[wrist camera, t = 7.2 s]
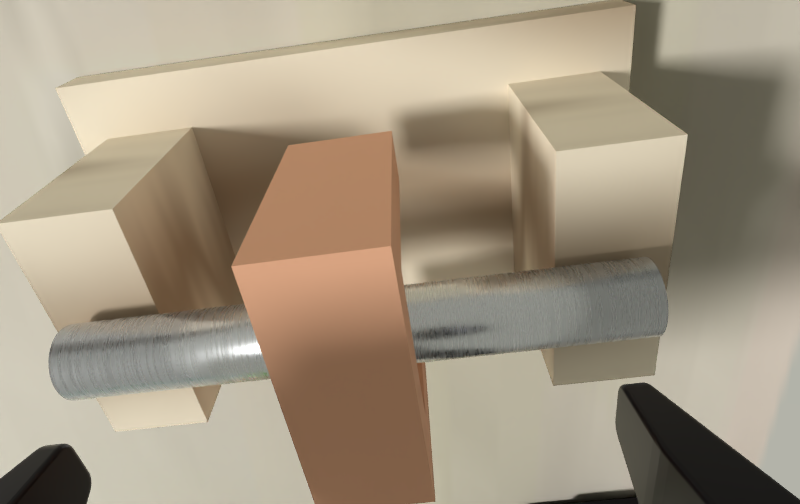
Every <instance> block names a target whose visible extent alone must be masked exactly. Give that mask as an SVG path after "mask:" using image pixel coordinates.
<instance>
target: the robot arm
mask: <svg viewBox="0 0 800 504" xmlns="http://www.w3.org/2000/svg"><path fill="white" fill-rule="evenodd" d="M615 422H616V431H617V435H618V439H619V442H620V445H621V448H622V452H623V455H624V458H625V461H626V464H627V467H628V471H629V474H630V477H631V480H632V483H633V487H634V490H635V493H636V496H637V498H626V499H615V500H604V501H594V502H583V503H572V504H800V500H799V499H798V498H797V497H796V496H794V495H793V494H792V493H790V492H789V491H788V490H786V489H785V488H784V487H783V486H781V485H780V484H779V483H777V482H776V481H775V480H773V479H772V478H771V477H770V476H768V475H767V474H766V473H764V472H763V471H762V470H761V469H759V468H758V467H757V466H755V465H754V464H753V463H751V462H750V461H749V460H748V459H746V458H745V457H744V456H742V455H741V454H740V453H738V452H737V451H736V450H735V449H733V448H732V447H731V446H729V445H728V444H727V443H725V442H724V441H723V440H722V439H720V438H719V437H718V436H716V435H715V434H714V433H712V432H711V431H710V430H709V429H707V428H706V427H705V426H703V425H702V424H701V423H699V422H698V421H697V420H696V419H694V418H693V417H692V416H690V415H689V414H688V413H686V412H685V411H684V410H683V409H681V408H680V407H679V406H677V405H676V404H675V403H673V402H672V401H671V400H670V399H668V398H667V397H666V396H664V395H663V394H662V393H660V392H659V391H658V390H657V389H655V388H654V387H653V386H651V385H650V384H647V383H634V384H625V385H622V386H621V387H620V388H619V391H618V399H617V410H616V421H615ZM90 490H91V477H90V474H89V472H88V470H87V469H86V467H85V466H84V464H83V462H82V461H81V459H80V458H79V456H78V455H77V453H76V452H75V450H74V449H73V448H72V446H70V445H68V444H56V445H47V446H43V447H41V448H39V449H37V450H36V451H35V452H33V453H32V454H31V455H30V456H28V457H27V458H26V459H25V460H23V461H22V462H21V463H19V464H18V465H17V466H16V467H14V468H13V469H12V470H11V471H9V472H8V473H7V474H6V475H4V476H3V477H2V478H1V479H0V504H87V501H88V497H89V494H90Z"/></svg>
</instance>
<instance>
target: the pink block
mask: <svg viewBox="0 0 800 504" xmlns="http://www.w3.org/2000/svg"><path fill="white" fill-rule="evenodd" d="M231 267H232V270H233V273H234V276H235V279H236V282H237V284H238V287H239V290H240V293H241V296H242V299H243V301H244V304H245V307H246V310H247V313H248V316H249V318H250V321H251V324H252V327H253V330H254V333H255V335H256V338H257V341H258V344H259V347H260V350H261V352H262V355H263V358H264V361H265V364H266V367H267V369H268V372H269V375H270V378H271V381H272V384H273V386H274V389H275V392H276V395H277V398H278V401H279V403H280V406H281V409H282V412H283V415H284V418H285V420H286V423H287V426H288V429H289V432H290V435H291V437H292V440H293V443H294V446H295V449H296V452H297V454H298V457H299V460H300V463H301V466H302V469H303V471H304V474H305V477H306V480H307V483H308V486H309V488H310V491H311V494H312V497H313V500H314V503H315V504H414V503H425V502H435V490H434V477H433V463H432V449H431V436H430V422H429V408H428V395H427V381H426V368H425V362H421V363H417V361H416V355H415V349H414V343H413V337H412V331H411V325H410V319H409V313H408V307H407V301H406V295H405V289H404V283H403V277H402V271H401V234H400V193H399V175H398V168H397V162H396V155H395V149H394V142H393V136H392V131H386V132H379V133H372V134H365V135H358V136H351V137H344V138H337V139H330V140H323V141H316V142H309V143H301V144H294V145H288V147H287V149H286V151H285V153H284V155H283V157H282V160H281V162H280V164H279V166H278V168H277V170H276V172H275V174H274V177H273V179H272V181H271V183H270V185H269V187H268V189H267V191H266V194H265V196H264V198H263V200H262V202H261V204H260V206H259V208H258V211H257V213H256V215H255V217H254V219H253V221H252V223H251V225H250V227H249V230H248V232H247V234H246V236H245V238H244V240H243V242H242V244H241V247H240V249H239V251H238V253H237V255H236V257H235V259H234V261H233V264H232V266H231Z"/></svg>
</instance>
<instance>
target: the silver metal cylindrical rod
mask: <svg viewBox="0 0 800 504" xmlns="http://www.w3.org/2000/svg"><path fill="white" fill-rule="evenodd" d="M404 289H405V295H406V301H407V307H408V313H409V319H410V325H411V331H412V337H413V343H414V349H415V355H416V361H417V363H421V362H431V361H440V360H449V359H458V358H467V357H476V356H486V355H495V354H504V353H513V352H522V351H531V350H541V349H550V348H559V347H568V346H577V345H586V344H596V343H605V342H614V341H623V340H632V339H642V338H651V337H659V336H661V335H663V333H664V332H665V330H666V327H667V322H668V300H667V294H666V289H665V285H664V281H663V278H662V276H661V273H660V271H659V269H658V267H657V266H656V264H655V263H654V262H653V260H652V259H650V258H649V257H638V258H630V259H621V260H613V261H604V262H596V263H587V264H579V265H570V266H562V267H553V268H545V269H536V270H528V271H519V272H510V273H502V274H493V275H485V276H476V277H468V278H459V279H451V280H442V281H434V282H425V283H417V284H408V285H404ZM49 373H50V377H51V381H52V383H53V386H54V387H55V389H56V391H57V392H58V393H59V394H60V395H61V396H62V397H63V398H65V399H68V400H82V399H91V398H100V397H110V396H119V395H128V394H137V393H146V392H155V391H165V390H174V389H183V388H192V387H201V386H210V385H220V384H229V383H238V382H247V381H256V380H265V379H271V378H270V375H269V372H268V369H267V367H266V364H265V361H264V358H263V355H262V352H261V350H260V347H259V344H258V341H257V338H256V335H255V333H254V330H253V327H252V324H251V321H250V318H249V316H248V313H247V310H246V307H245V304H238V305H230V306H221V307H213V308H204V309H195V310H187V311H178V312H170V313H161V314H153V315H144V316H136V317H127V318H119V319H110V320H102V321H93V322H85V323H76V324H70V325H67V326H65V327H63V328H62V329H61V330H60V331H59V332H58V333H57V335H56V336H55V338H54V340H53V342H52V345H51V348H50V353H49Z"/></svg>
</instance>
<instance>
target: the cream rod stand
mask: <svg viewBox="0 0 800 504" xmlns="http://www.w3.org/2000/svg"><path fill="white" fill-rule="evenodd" d="M635 11H636V5H635V4H632V3H629V2H626V1H623V0H609V1H602V2H595V3H588V4H582V5H575V6H568V7H561V8H554V9H547V10H540V11H533V12H526V13H519V14H512V15H505V16H498V17H492V18H485V19H478V20H471V21H464V22H457V23H450V24H443V25H436V26H429V27H422V28H415V29H409V30H402V31H395V32H388V33H381V34H374V35H367V36H360V37H353V38H346V39H339V40H332V41H325V42H319V43H312V44H305V45H298V46H291V47H284V48H277V49H270V50H263V51H256V52H249V53H242V54H236V55H229V56H222V57H215V58H208V59H201V60H194V61H187V62H180V63H173V64H166V65H159V66H153V67H146V68H139V69H132V70H125V71H118V72H111V73H104V74H97V75H90V76H83V77H77V78H75V79H73V80H71V81H69V82H67V83H65V84H63V85H61V86H59V87H57V88H55V89H56V91H57V93H58V96H59V98H60V100H61V102H62V104H63V107H64V109H65V111H66V113H67V116H68V118H69V120H70V122H71V124H72V127H73V129H74V131H75V133H76V135H77V138H78V140H79V142H80V144H81V147H82V149H83V151H84V153H85V155H86V156H84V157H83V158H82V159H80V160H79V161H78V162H77V163H75V164H74V165H73V166H71V167H70V168H69V169H67V170H66V171H65V172H63V173H62V174H61V175H59V176H58V177H57V178H56V179H54V180H53V181H52V182H50V183H49V184H48V185H46V186H45V187H44V188H42V189H41V190H40V191H38V192H37V193H36V194H34V195H33V196H32V197H31V198H29V199H28V200H27V201H25V202H24V203H23V204H21V205H20V206H19V207H17V208H16V209H15V210H13V211H12V212H11V213H10V214H8V215H7V216H6V217H4V218H3V219H2V220H0V233H1V234H2V236H3V238H4V240H5V241H6V243H7V245H8V247H9V248H10V250H11V252H12V253H13V255H14V257H15V259H16V260H17V262H18V264H19V266H20V267H21V269H22V271H23V273H24V274H25V276H26V278H27V279H28V281H29V283H30V285H31V286H32V288H33V290H34V292H35V293H36V295H37V297H38V298H39V300H40V302H41V304H42V305H43V307H44V309H45V311H46V312H47V314H48V316H49V318H50V319H51V321H52V323H53V324H54V326H55V328H56V330H57V331H58V332H59V331H60V330H61V329H62V328H63V327H65V326H67V325H70V324H76V323H85V322H93V321H102V320H110V319H119V318H127V317H136V316H144V315H153V314H161V313H170V312H178V311H187V310H195V309H204V308H213V307H221V306H230V305H238V304H244V301H243V299H242V296H241V293H240V290H239V287H238V284H237V282H236V279H235V276H234V273H233V270H232V267H231V266H232V264H233V261H234V259H235V257H236V255H237V253H238V251H239V249H240V247H241V244H242V242H243V240H244V238H245V236H246V234H247V232H248V230H249V227H250V225H251V223H252V221H253V219H254V217H255V215H256V213H257V211H258V208H259V206H260V204H261V202H262V200H263V198H264V196H265V194H266V191H267V189H268V187H269V185H270V183H271V181H272V179H273V177H274V174H275V172H276V170H277V168H278V166H279V164H280V162H281V160H282V157H283V155H284V153H285V151H286V149H287V147H288V145H294V144H301V143H309V142H316V141H323V140H330V139H337V138H344V137H351V136H358V135H365V134H372V133H379V132H386V131H392V136H393V142H394V149H395V155H396V162H397V168H398V175H399V193H400V234H401V271H402V277H403V283H404V285H408V284H417V283H425V282H434V281H442V280H451V279H459V278H468V277H476V276H485V275H493V274H502V273H510V272H519V271H528V270H536V269H545V268H553V267H562V266H570V265H579V264H587V263H596V262H604V261H613V260H621V259H630V258H638V257H649V258H650V259H652V260H653V262H654V263H655V264H656V266H657V267H658V269H659V271H660V273H661V276H662V278H663V281H664V285H665V289H667V281H668V274H669V267H670V260H671V253H672V245H673V238H674V231H675V224H676V217H677V209H678V202H679V195H680V188H681V180H682V173H683V166H684V159H685V152H686V144H687V137H688V134H687V133H685V132H684V131H682V130H681V129H680V128H678V127H677V126H675V125H674V124H673V123H671V122H670V121H668V120H667V119H666V118H664V117H663V116H662V115H660V114H659V113H657V112H656V111H655V110H653V109H652V108H650V107H649V106H648V105H646V104H645V103H643V102H642V101H641V100H639V99H638V98H636V97H635V96H634V95H632V94H631V93H630V92H629V87H630V75H631V62H632V49H633V37H634V24H635ZM659 339H660V336H659V337H651V338H642V339H632V340H623V341H614V342H605V343H596V344H586V345H577V346H568V347H559V348H550V349H541V352H542V355H543V357H544V360H545V363H546V366H547V369H548V372H549V375H550V378H551V380H552V383H553V386H556V385H565V384H575V383H584V382H594V381H603V380H613V379H622V378H632V377H641V376H651V375H655V368H656V361H657V353H658V346H659ZM221 385H222V384H220V385H210V386H201V387H192V388H183V389H174V390H165V391H155V392H146V393H137V394H128V395H119V396H110V397H100V398H96V399H97V401H98V402H99V404H100V406H101V407H102V409H103V411H104V413H105V414H106V416H107V418H108V420H109V421H110V423H111V425H112V427H113V428H114V430H115V432H118V431H128V430H137V429H147V428H156V427H166V426H175V425H185V424H194V423H204V422H208V420H209V417H210V414H211V412H212V409H213V406H214V403H215V401H216V398H217V395H218V393H219V390H220V387H221Z"/></svg>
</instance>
